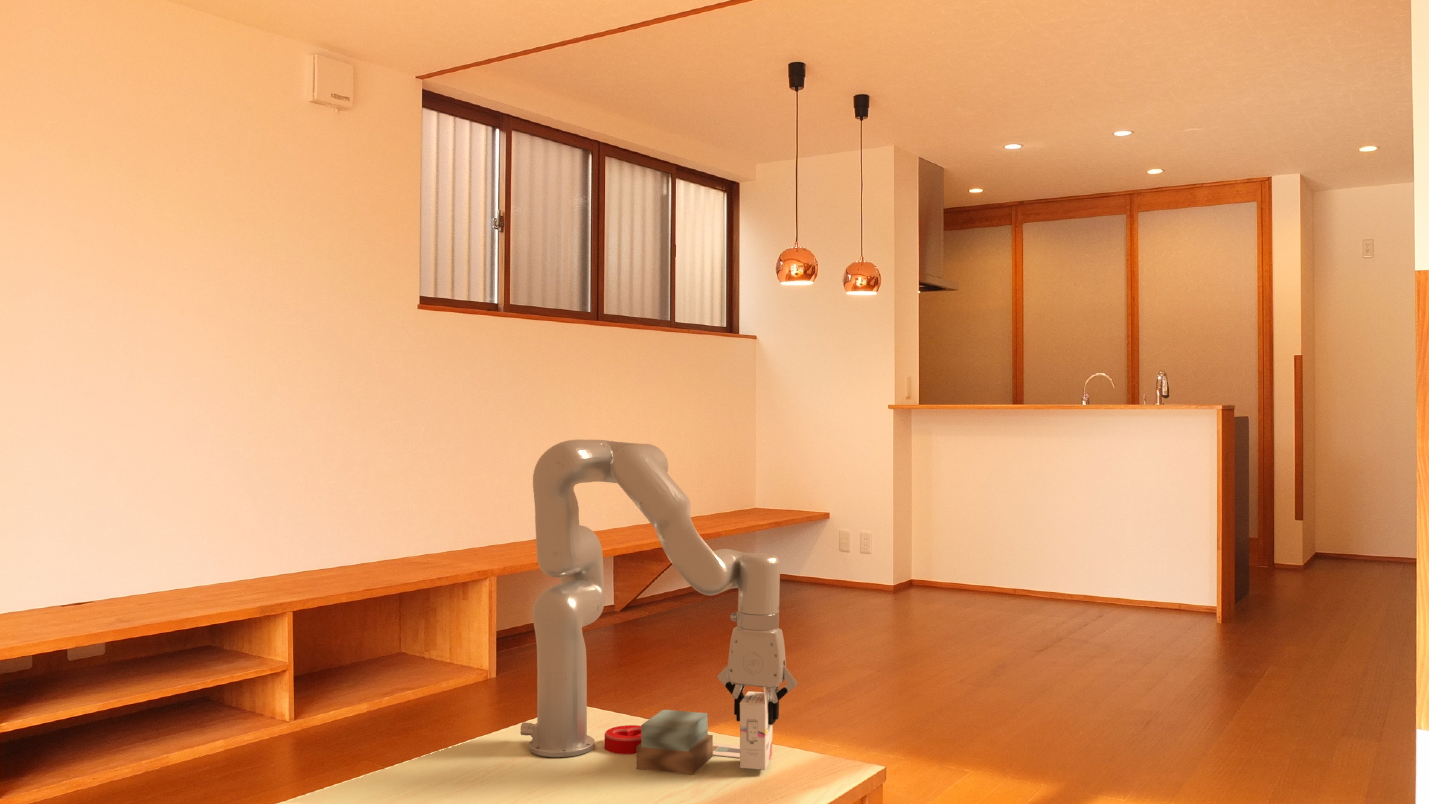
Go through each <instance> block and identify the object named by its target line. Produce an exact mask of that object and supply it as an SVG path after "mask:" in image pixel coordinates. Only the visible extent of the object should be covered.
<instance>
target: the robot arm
mask: <svg viewBox="0 0 1429 804" xmlns="http://www.w3.org/2000/svg"><path fill="white" fill-rule="evenodd" d="M668 471H669V461H668V458H667V456H666V453H664V451H662V449H661V448H659V447H658V446H656V445H653V444H650V443H635V442H634V443H633V442H623V441H614V440H605V439H604V440H603V439H570V440H564V441H560V442H559V443H556V444H554V445H552V446H551V447H549V448H548V449H547V450H546V451H545V452H544V453H542V455H541V456H540V457H539V458H538V459H537V461H536V464H535V467H534V469H533V474H532V488H533V492H532V493H533V500H534V501H533V503H534V515H535V516H534V519H535V520H534V524H535V527H534V528H535V544H536V560H537V565H538V568H539V569H540V570H541V572H542V573H543V574H544V575H546V576H547V577H551V578H560V583H558V584H555V585H551V586H550V587H548V588H546V589H544V591H542V592H541V593H540V594H539V595H538V597H537V598H536V600H535V602H534V605H533V609H532V621H533V627H534V633H535V640H536V662H537V664H536V668H537V671H536V672H537V681H536V683H537V684H536V685H537V688H536V690H537V694H536V695H537V698H536V699H537V701H536V702H537V703H536V706H537V714H536V715H537V716H536V717H537V720H536V723H532V722H526V721H525V722H524V721H523V722H522V723H521V724H520V736H530V737H531V738H532V739H531V741H529V745H528V746H529V747H528V749H529V751H530V752H531V753H532V754H534V755H537V756H540V757H546V758H547V757H548V758H567V757H574V756H580V755H584V754H587V753H589V752H591V751H592V750H593V749H594V748H595V746H596V744H595V739H594V738H593V737H592V736H590V735H588V730H587V729H588V725H587V724H588V721H587V720H588V717H587V716H588V713H587V712H588V711H587V709H588V706H587V705H588V703H587V702H588V696H587V693H588V691H587V689H588V688H587V686H588V685H587V684H588V683H587V681H588V676H587V674H588V673H587V672H588V671H587V670H588V669H587V668H588V667H587V665H588V664H587V662H588V661H587V649H586V642H585V639H584V635H583V628H584V627H586V626H588V625H591V624H593V623H594V622H596V621H597V620H598V618H599V617H600V616H601V615H602V614H603V610H604V607H605V599H606V597H605V592H606V591H605V575H604V573H605V572H604V554H603V549H602V545H601V542H600V539H599V537H598V536H597V534H596V533H595V532H594V531H593V530H592V529H590V528H589V527H588V526H584V525H580V508H579V502H578V498H577V495H576V493H575V486H576V485H578V484H584V483H585V484H586V483H592V482H593V483H594V482H596V483H597V482H601V483H602V482H603V483H612V484H618V485H619V487H620V488H621V489H622V491H624V493H625V494H626V495H627V496H628V497H629V499H630V500H631V501H632V502H633V503H634V505H635V506H636V507H637V508H638V509H639V511H640V512H641V513H642V514H643V516H644V517H645V518H646V519H647V520H648V522H649V524H651V526H652V527H653V529H654V530H655V533H656V537H657V539H658V540H659V543H660V545H661V547H662V550H663V551H664V553H665V555H666V557H667V558H668V560H669V561H670V563H671V564H672V566H673V567H674V568H675V569H676V570H677V572H678V573H679V574H680V575H681V576H682V578H683V579H684V580H685V581H686V582H687V584H688V585H690V587H692V589H694V590H695V591H696V592H698V593H700V594H702V595H705V596H716V595H718V594H720V593H723V592H725V591H729V590H732V589H738V592H737V593H738V599H737V602H738V603H737V611H736V612H731V613H730V617H729V618H730V620H731V621H734V622H736V626H735V627H733V628H732V632H731V637H730V644H729V650H728V652H729V653H728V660H727V664H726V666H725V667H724V668H723V669H722V670H721V671H720V673H718V675H717V676H716V677H717V679H718V681H719V682H721V684H722V685H724V687H725V688H726V690H727V691H728V692H729V693H730V695H731V697H732V698H733V699H734V702H733V706H734V707H733V715H735V716H736V717H735V720H736V722H740V702H741V701H742V699H743V698H744V696H745V695H744V689H745V687H746V686H747V687H757V688H764V686H765V687H766V688H768V689H767V691H769V694H770V697H771V700H770V702H769V704H768V724H769V725H772V726H773V724H775V723H776V721H777V720H779V716H780V700H781V699H783V697H784V696H786V695H787V694H788V693H789V692H791V691H792V690H793V689H795V688H796V687H797V686H798V684H799V683H798V681H797V679H796V678H795V677H794V675H793V674H792V673H791V671H790V670H789V669H788V667H787V662H786V661H787V660H786V648H785V647H786V645H785V640H784V639H785V638H784V633H783V630H782V629H781V628H779V627H780V586H781V585H780V584H781V583H780V581H781V579H780V577H781V561H780V559H779V557H778V556H777V555H776V554H772V553H767V552H744V551H740V550H734V549H731V548H720V549H716V550H712V548H711V547H710V545H708V543H706V542H705V540H704V539H703V537H702V536H701V535H700V534H699V532H698V531H697V529H696V528H695V525H694V523H693V521H692V517H691V501H690V499H689V497H688V495H687V494H686V493H685V492H684V491H683V490H682V489H681V488H680V486H679V485H678V484H677V482H675V480H674V479H673V478H672V477H671V475H669V473H668ZM784 681H785V682H786V684H785V685H784V686H783V687H782V688H781V689H780V686H781V684H782V683H783V682H784Z"/></svg>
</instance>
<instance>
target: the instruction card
mask: <svg viewBox="0 0 1429 804" xmlns="http://www.w3.org/2000/svg"><path fill="white" fill-rule="evenodd" d="M713 756H715V757H724V758H734V759H740V744H739V745H738V744H729V743H720V742H719V743H717V742H713Z"/></svg>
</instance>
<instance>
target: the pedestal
mask: <svg viewBox="0 0 1429 804" xmlns="http://www.w3.org/2000/svg"><path fill="white" fill-rule="evenodd" d="M708 715H709V714H708V713H707V712H699V711H698V712H696V711H687V710H686V711H685V710H674V709H662V710H660V711H659V712H657V714H655V715H653V716H651V717H650V718H649V719H648V720H646V721H644V722H643V723H642V724H641V725H640V726H641V744H639V745H638V746H637V747H636V754H635V755H636V757H635V758H636V763H635V764H636V765H635V766H636V769H637V770H643V771H655V772H664V773H665V772H666V773H674V774H683V775H692V776H693V775H694V776H695V774H696V773H697V772H698V771H699V770H700V769H701V768H702V767H704V766H705V764H706V763H707V762H708V761H709V760H711V759H712V758H713V743H714V742H713V738H714V737H713V734H709V733H708V730H709V728H708V727H709V726H708V723H709V722H708V717H709V716H708Z"/></svg>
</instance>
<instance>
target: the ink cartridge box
mask: <svg viewBox="0 0 1429 804" xmlns="http://www.w3.org/2000/svg"><path fill="white" fill-rule="evenodd" d="M770 700H771V697H770V694H769V690H768V688H766V687H765V686H764V687H763V691H762V692H761V691H747V692H746V694H745V695H744V698H743V699H742V701H741V702H740V721H739V745H740V758H739V768H740V769H750V770H753V769H754V770H766V769H767V767H768V764H769V763H770V760H771V758H772V755H773V725H769V724H768V704H769V702H770Z"/></svg>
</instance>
